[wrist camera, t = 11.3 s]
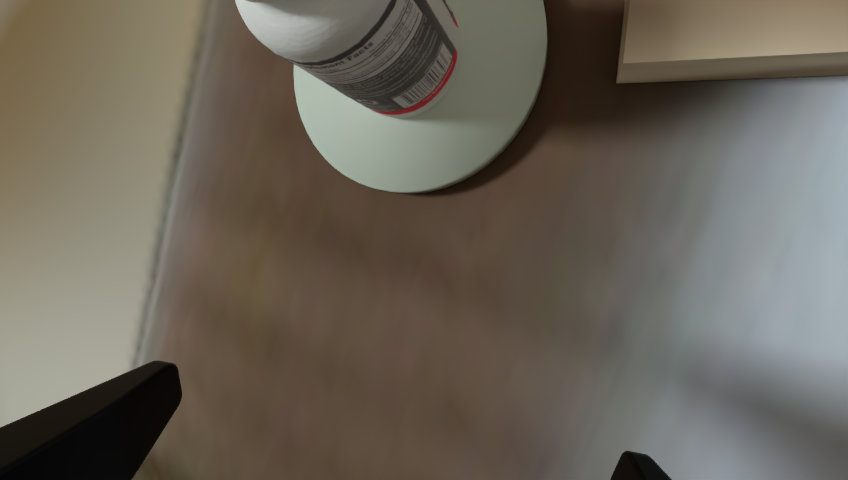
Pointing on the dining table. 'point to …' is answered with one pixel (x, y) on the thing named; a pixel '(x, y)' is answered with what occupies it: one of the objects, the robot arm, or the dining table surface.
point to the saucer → (439, 106)
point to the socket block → (732, 39)
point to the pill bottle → (366, 47)
